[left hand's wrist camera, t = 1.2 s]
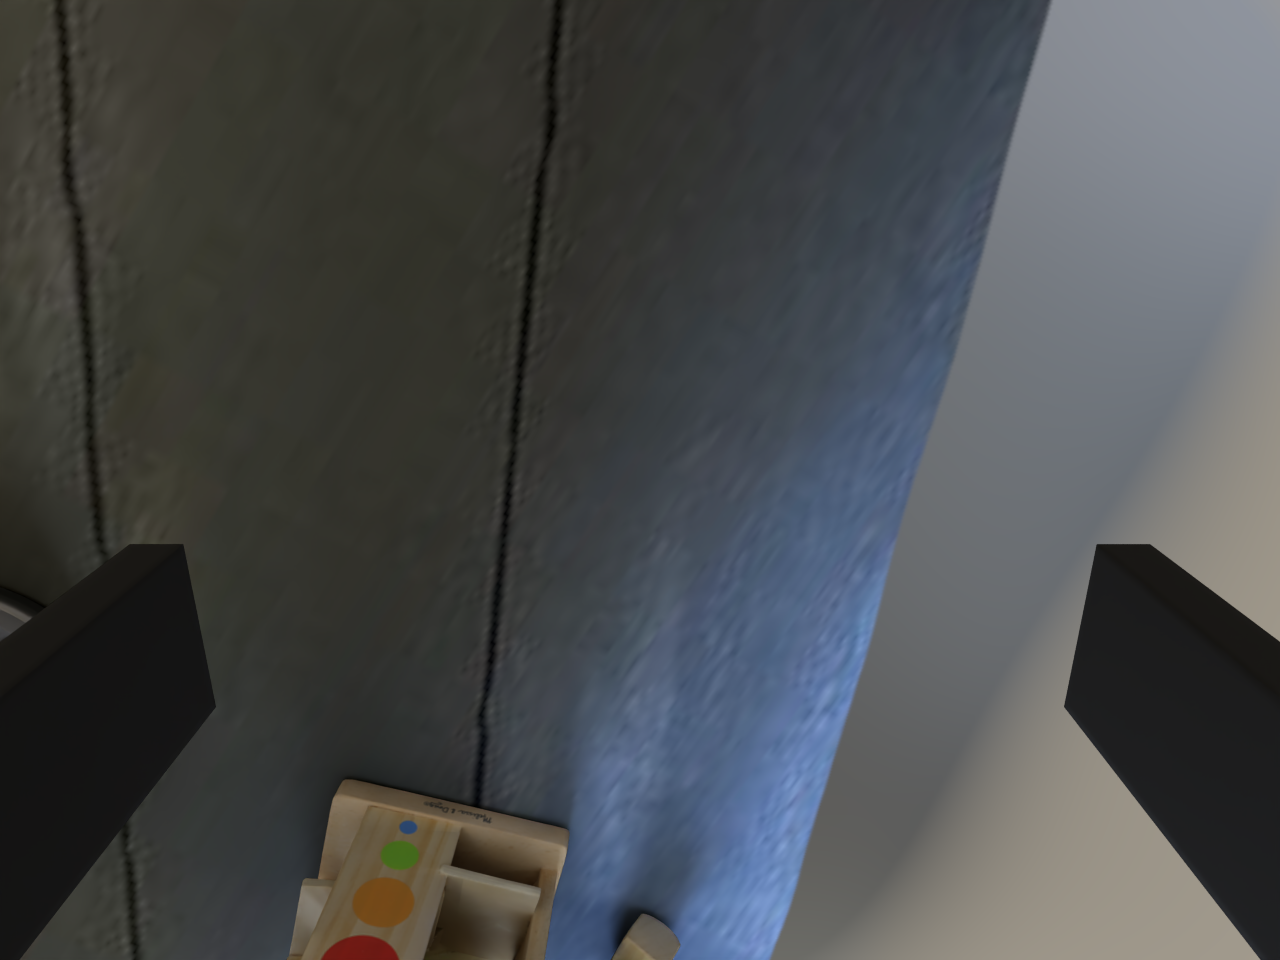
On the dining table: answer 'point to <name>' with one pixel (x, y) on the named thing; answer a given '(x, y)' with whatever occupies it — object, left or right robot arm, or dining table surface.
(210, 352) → the dining table surface
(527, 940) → the pounding bench toy
